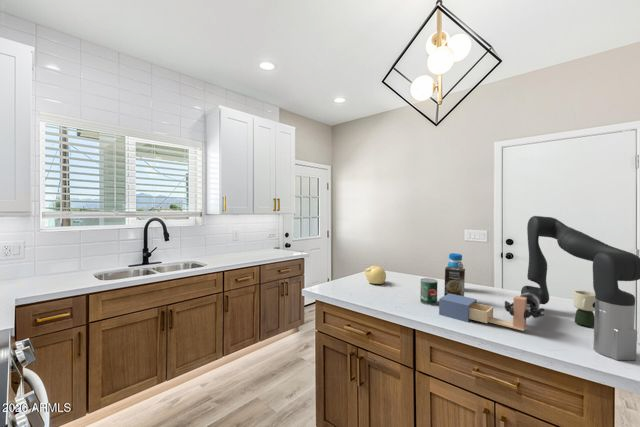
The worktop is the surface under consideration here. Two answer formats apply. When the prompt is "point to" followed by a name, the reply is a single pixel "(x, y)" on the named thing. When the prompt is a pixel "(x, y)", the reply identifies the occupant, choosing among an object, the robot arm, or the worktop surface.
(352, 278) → the worktop surface
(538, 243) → the robot arm
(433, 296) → the canned tomato
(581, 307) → the character mug
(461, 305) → the sleeve
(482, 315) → the pull-out drawer
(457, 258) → the beverage bottle
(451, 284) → the coffee box
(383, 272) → the yellow apple
